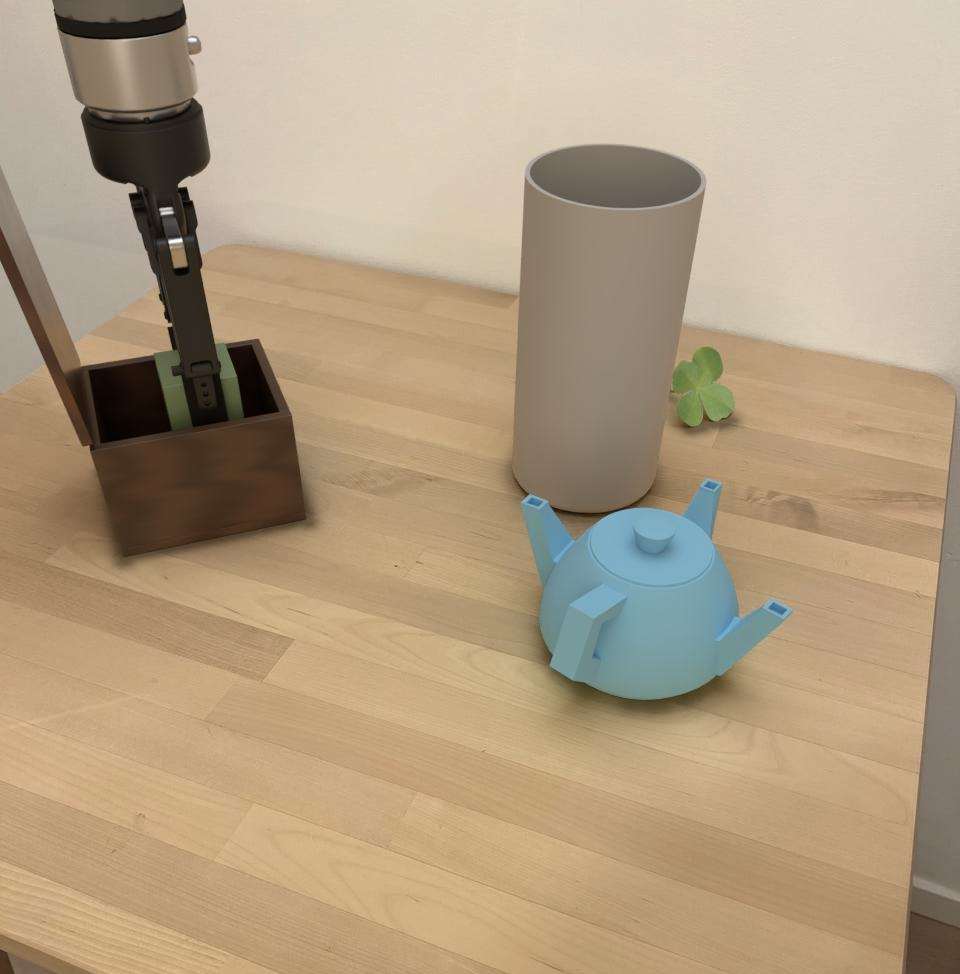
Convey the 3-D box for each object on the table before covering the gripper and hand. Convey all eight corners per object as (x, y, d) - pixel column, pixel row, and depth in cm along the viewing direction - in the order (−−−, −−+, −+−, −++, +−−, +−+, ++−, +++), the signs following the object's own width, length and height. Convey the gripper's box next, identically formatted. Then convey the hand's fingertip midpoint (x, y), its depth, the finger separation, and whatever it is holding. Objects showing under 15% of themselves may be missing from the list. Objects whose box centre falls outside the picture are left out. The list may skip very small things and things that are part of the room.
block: (167, 414, 79) (153, 352, 75) (235, 403, 80) (224, 341, 76) (177, 450, 75) (162, 387, 71) (247, 438, 76) (237, 375, 73)
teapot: (511, 578, 75) (517, 462, 67) (699, 562, 76) (726, 447, 69) (550, 730, 64) (562, 612, 56) (767, 707, 66) (808, 590, 58)
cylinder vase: (662, 519, 80) (720, 212, 62) (512, 516, 80) (527, 208, 62) (646, 435, 89) (692, 145, 71) (510, 432, 89) (522, 141, 71)
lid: (-5, 154, 65) (-17, 156, 65) (-1, 225, 57) (-15, 228, 57) (80, 360, 77) (70, 362, 77) (93, 444, 68) (82, 447, 68)
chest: (274, 437, 88) (258, 337, 81) (306, 518, 79) (292, 415, 72) (108, 468, 84) (76, 366, 77) (123, 557, 76) (90, 451, 69)
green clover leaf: (675, 445, 97) (720, 443, 91) (618, 406, 93) (661, 401, 87) (702, 381, 97) (749, 375, 91) (646, 339, 93) (691, 330, 87)
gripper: (225, 144, 56) (278, 476, 72) (179, 57, 68) (233, 357, 84) (90, 158, 54) (176, 496, 70) (67, 66, 66) (145, 371, 82)
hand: (207, 420), depth 77 cm, fingers open, 6 cm apart
